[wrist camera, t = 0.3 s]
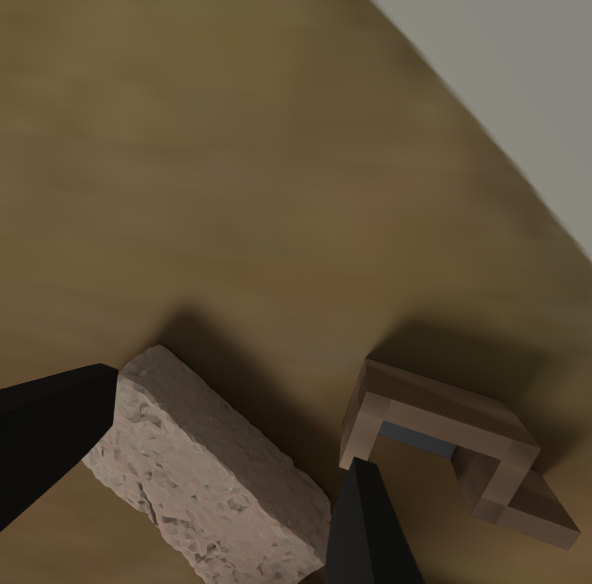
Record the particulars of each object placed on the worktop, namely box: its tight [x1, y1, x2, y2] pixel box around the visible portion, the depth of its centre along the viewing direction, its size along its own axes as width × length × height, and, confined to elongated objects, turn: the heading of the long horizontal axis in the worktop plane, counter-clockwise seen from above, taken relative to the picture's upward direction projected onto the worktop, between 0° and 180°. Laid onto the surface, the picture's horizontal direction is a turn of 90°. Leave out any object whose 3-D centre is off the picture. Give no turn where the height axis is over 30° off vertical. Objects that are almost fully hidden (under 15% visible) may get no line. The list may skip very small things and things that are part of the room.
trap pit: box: [378, 420, 456, 459], centre depth 18 cm, size 3×5×1 cm, turn 76°
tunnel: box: [306, 358, 581, 584], centre depth 18 cm, size 18×11×4 cm, turn 166°
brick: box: [82, 344, 331, 584], centre depth 20 cm, size 17×8×5 cm, turn 48°
